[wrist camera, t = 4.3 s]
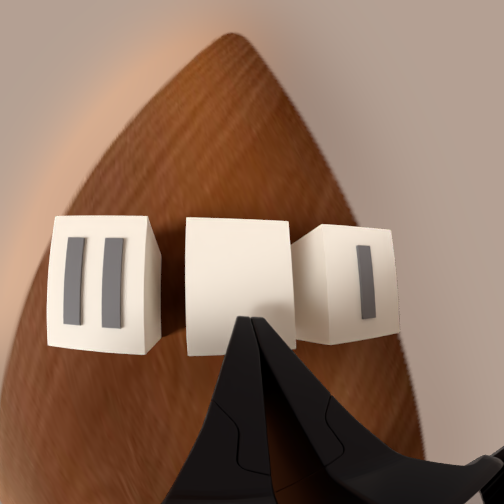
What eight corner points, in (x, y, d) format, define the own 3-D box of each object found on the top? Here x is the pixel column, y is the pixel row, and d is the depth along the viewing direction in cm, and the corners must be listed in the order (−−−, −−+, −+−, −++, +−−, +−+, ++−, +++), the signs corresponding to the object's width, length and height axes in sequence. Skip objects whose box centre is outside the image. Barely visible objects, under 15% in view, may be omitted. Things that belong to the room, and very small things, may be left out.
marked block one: (329, 330, 18) (402, 332, 11) (274, 335, 17) (331, 345, 10) (325, 255, 19) (391, 224, 12) (271, 253, 18) (322, 217, 11)
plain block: (251, 336, 16) (296, 348, 10) (186, 338, 15) (187, 355, 9) (248, 257, 18) (288, 221, 11) (185, 256, 17) (186, 217, 10)
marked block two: (161, 337, 15) (144, 355, 8) (99, 334, 14) (46, 345, 7) (161, 251, 16) (147, 208, 10) (101, 250, 15) (55, 208, 9)
